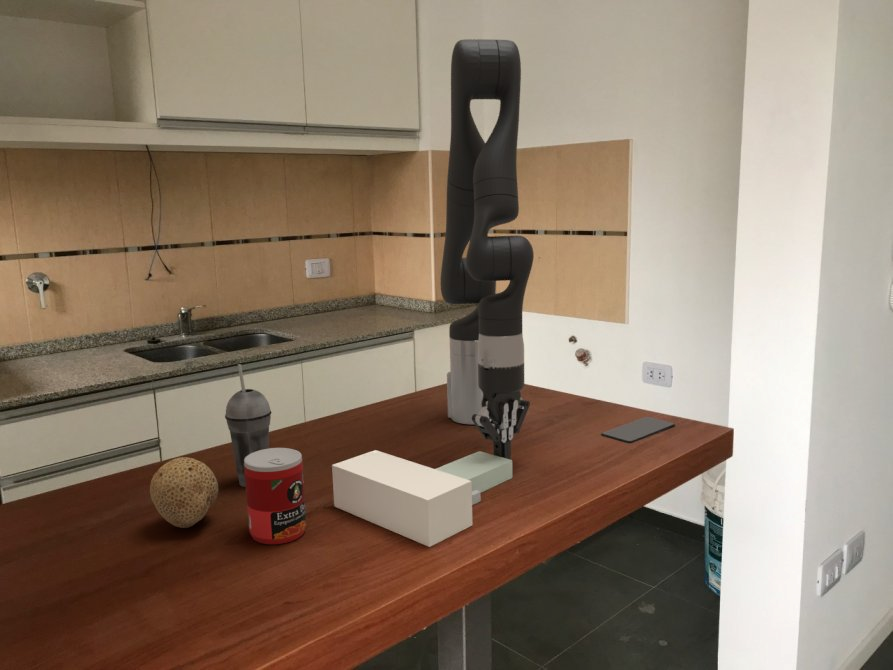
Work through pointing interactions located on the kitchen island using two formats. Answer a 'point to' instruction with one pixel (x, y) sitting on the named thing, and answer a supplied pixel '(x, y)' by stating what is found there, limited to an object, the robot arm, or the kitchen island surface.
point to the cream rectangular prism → (404, 496)
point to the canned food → (275, 495)
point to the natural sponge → (183, 491)
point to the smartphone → (638, 429)
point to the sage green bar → (480, 470)
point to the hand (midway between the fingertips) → (502, 461)
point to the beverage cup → (247, 424)
